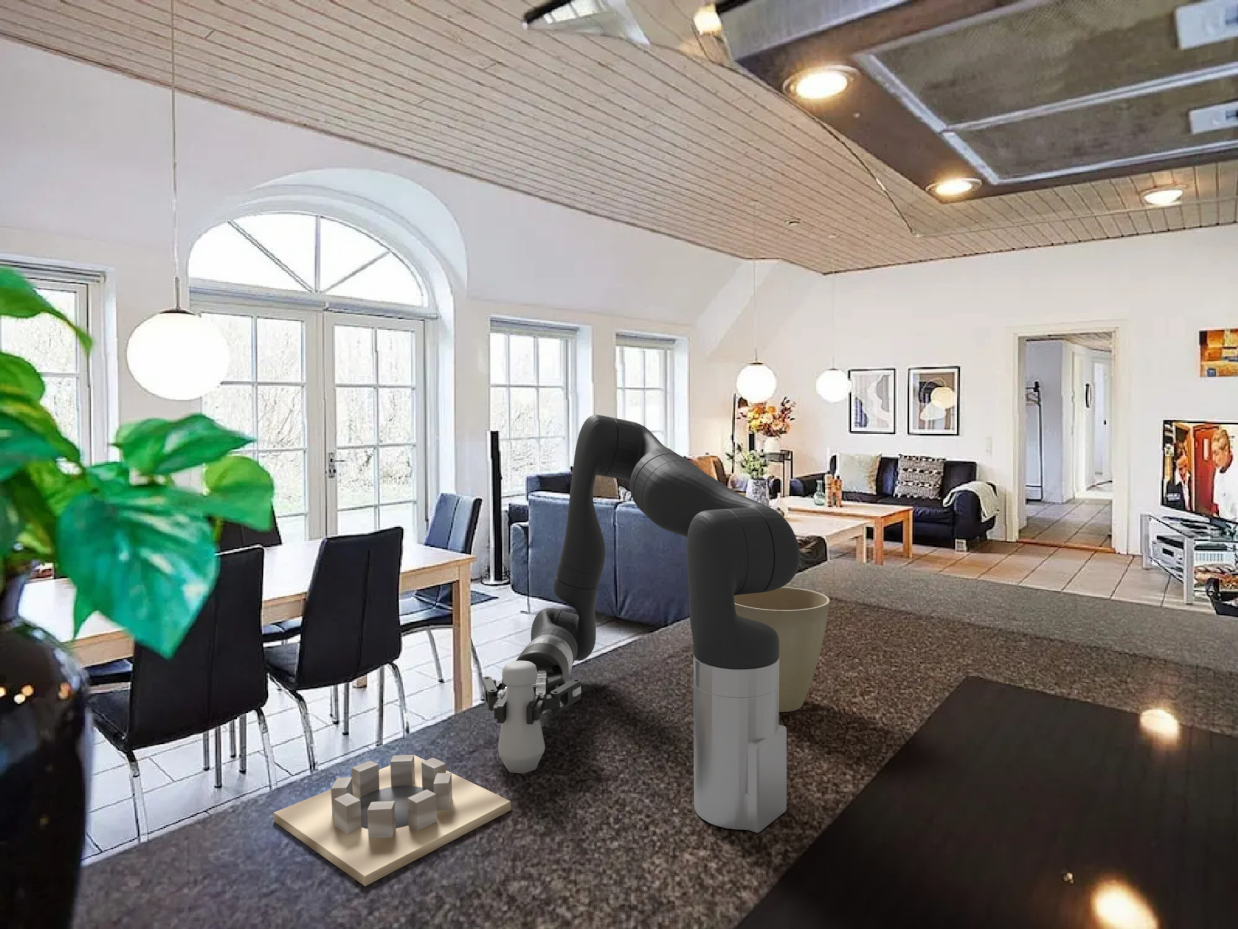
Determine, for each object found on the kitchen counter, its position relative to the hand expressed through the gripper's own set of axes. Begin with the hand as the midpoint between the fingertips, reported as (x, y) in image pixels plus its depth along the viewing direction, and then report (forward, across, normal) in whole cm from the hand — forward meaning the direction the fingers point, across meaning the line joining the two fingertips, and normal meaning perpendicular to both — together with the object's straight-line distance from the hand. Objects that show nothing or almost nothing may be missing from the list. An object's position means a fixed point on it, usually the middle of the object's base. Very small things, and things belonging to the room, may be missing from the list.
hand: (514, 716), depth 95 cm
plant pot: (-26, +33, +8) cm, 43 cm away
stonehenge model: (+10, -11, +8) cm, 17 cm away
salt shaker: (-3, 0, +8) cm, 8 cm away
